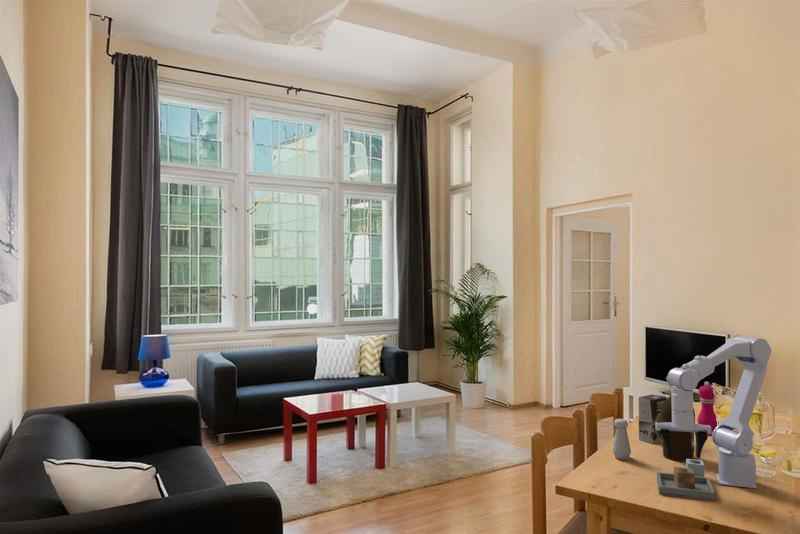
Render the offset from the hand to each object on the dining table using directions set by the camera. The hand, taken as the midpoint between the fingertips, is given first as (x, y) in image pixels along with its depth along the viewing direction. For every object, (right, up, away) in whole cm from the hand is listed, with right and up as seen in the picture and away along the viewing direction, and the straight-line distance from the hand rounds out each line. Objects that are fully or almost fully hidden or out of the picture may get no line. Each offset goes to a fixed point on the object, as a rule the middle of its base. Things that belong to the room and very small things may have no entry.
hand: (683, 456), depth 164 cm
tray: (0, -9, -1) cm, 9 cm away
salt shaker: (-8, -10, +27) cm, 29 cm away
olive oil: (+12, -10, +26) cm, 30 cm away
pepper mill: (+36, -9, +52) cm, 64 cm away
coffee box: (+12, -10, +46) cm, 48 cm away
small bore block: (0, -9, -1) cm, 9 cm away
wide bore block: (+8, -9, +8) cm, 14 cm away
